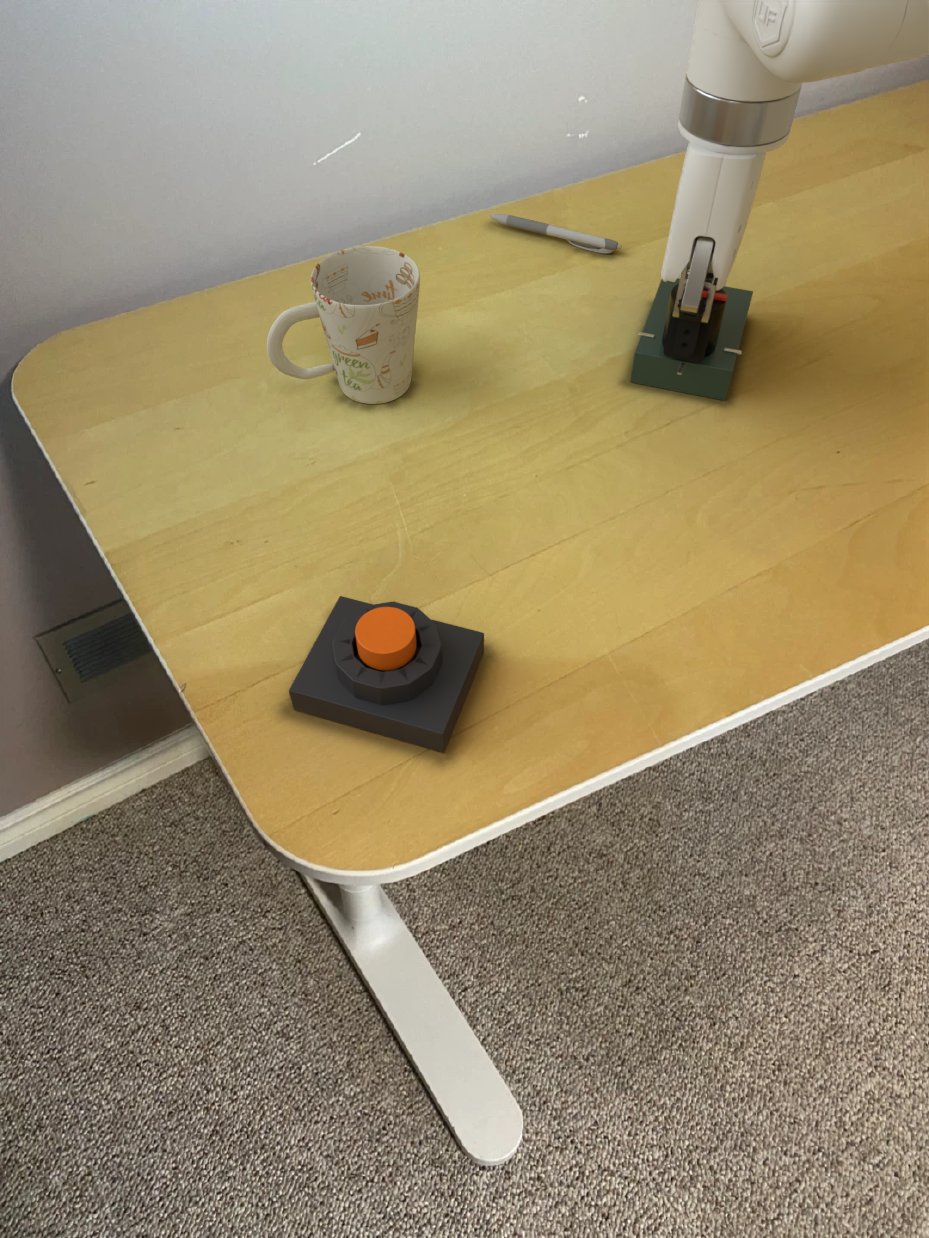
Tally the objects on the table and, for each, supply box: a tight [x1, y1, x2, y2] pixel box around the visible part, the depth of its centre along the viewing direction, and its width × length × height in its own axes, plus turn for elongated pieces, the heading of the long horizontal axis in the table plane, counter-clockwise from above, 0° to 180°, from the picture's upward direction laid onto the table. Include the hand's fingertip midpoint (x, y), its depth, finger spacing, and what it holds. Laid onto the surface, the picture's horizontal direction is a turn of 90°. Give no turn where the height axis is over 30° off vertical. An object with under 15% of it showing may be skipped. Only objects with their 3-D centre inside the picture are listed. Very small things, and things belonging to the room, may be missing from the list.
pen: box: [489, 213, 623, 254], centre depth 95 cm, size 1×14×1 cm, turn 64°
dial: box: [662, 283, 727, 357], centre depth 77 cm, size 4×4×5 cm
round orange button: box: [355, 607, 416, 670], centre depth 58 cm, size 4×4×2 cm
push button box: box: [288, 595, 485, 754], centre depth 60 cm, size 10×8×4 cm
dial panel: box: [629, 277, 754, 401], centre depth 82 cm, size 14×9×3 cm, turn 162°
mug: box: [266, 245, 421, 405], centre depth 77 cm, size 8×13×10 cm, turn 112°
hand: (689, 337), depth 79 cm, fingers closed on dial, 4 cm apart
